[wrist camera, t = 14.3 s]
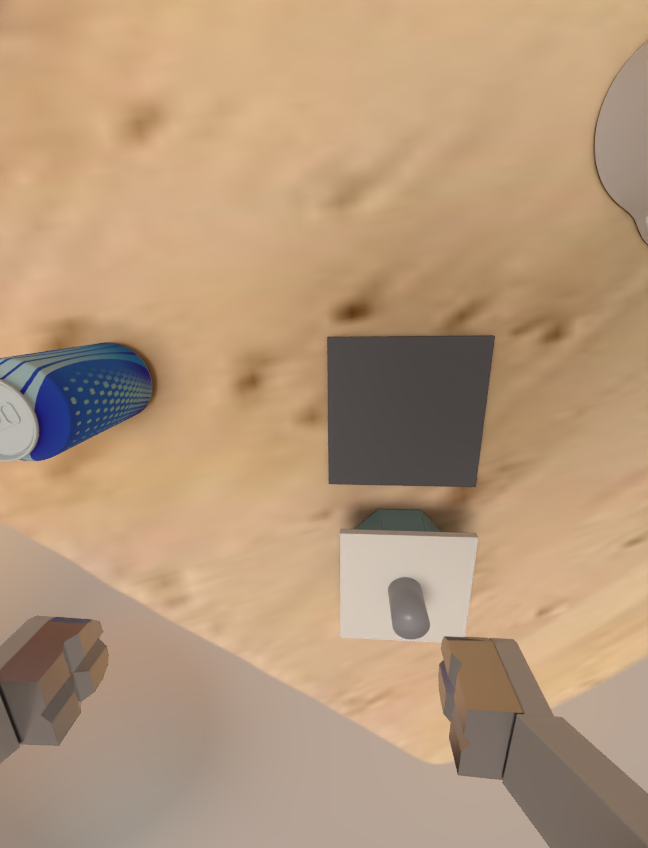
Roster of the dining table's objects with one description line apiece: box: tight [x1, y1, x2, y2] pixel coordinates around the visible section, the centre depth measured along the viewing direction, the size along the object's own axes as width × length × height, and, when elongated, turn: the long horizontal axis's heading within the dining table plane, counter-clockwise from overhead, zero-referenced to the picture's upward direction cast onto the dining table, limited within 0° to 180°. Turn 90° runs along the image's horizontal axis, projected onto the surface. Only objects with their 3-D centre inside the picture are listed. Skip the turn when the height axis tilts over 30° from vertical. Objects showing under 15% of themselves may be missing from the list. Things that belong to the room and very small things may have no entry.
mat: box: [327, 336, 495, 487], centre depth 41 cm, size 17×17×1 cm
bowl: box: [355, 509, 442, 532], centre depth 43 cm, size 12×12×6 cm
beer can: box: [0, 343, 152, 462], centre depth 34 cm, size 8×8×16 cm
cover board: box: [340, 529, 478, 642], centre depth 38 cm, size 14×14×5 cm
